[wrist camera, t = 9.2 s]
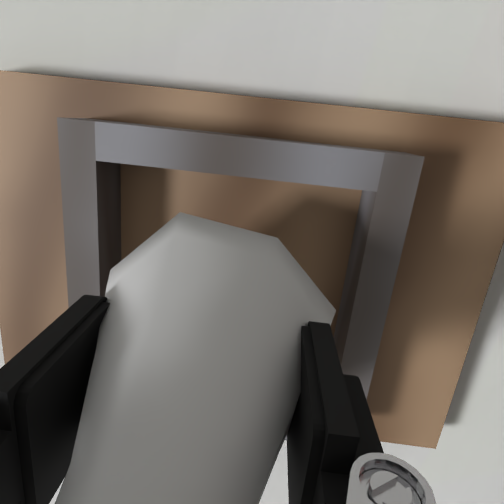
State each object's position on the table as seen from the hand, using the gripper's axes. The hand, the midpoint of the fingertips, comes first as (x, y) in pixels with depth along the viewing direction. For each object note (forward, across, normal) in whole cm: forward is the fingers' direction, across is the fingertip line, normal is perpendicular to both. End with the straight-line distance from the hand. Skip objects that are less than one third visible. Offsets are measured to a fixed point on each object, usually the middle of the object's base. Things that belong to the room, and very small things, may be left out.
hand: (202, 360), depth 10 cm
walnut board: (+7, 0, 0) cm, 7 cm away
